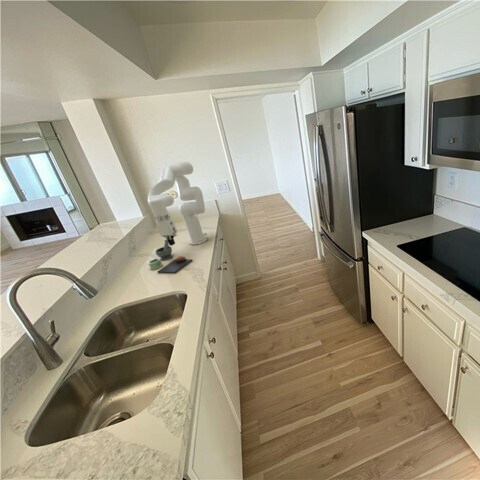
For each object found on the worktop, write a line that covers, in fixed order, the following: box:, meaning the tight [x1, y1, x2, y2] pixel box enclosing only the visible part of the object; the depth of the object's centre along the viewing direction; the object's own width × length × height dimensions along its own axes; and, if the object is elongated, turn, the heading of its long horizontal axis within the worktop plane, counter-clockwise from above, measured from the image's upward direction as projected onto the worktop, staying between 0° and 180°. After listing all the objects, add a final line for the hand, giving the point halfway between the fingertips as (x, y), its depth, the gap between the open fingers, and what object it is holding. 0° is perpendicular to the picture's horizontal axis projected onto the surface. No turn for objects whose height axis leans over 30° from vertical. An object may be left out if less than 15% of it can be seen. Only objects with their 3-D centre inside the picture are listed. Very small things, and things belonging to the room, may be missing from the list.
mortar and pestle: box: [155, 239, 173, 261], centre depth 184 cm, size 11×9×12 cm
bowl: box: [147, 257, 163, 270], centre depth 172 cm, size 7×7×5 cm
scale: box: [157, 256, 193, 274], centre depth 170 cm, size 16×13×3 cm
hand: (172, 244), depth 170 cm, fingers closed
